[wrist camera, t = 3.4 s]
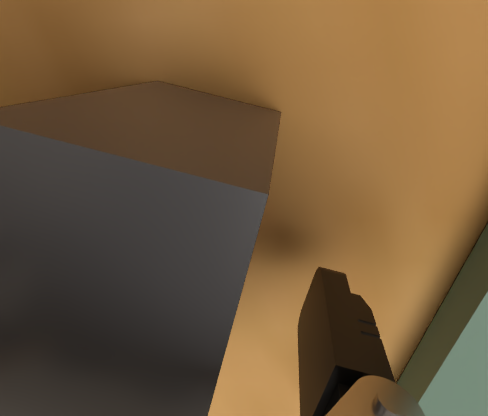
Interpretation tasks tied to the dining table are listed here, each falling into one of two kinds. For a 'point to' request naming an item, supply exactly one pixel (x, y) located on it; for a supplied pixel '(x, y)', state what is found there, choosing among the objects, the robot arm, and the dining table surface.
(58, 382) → the block
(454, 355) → the header board
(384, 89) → the dining table surface
